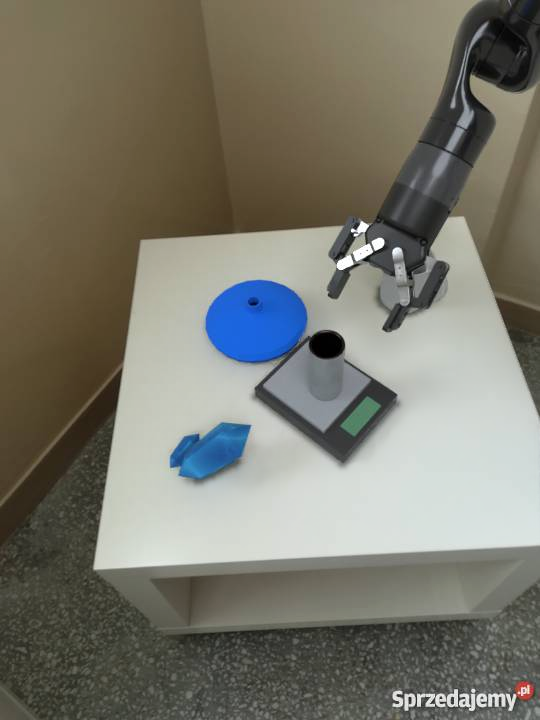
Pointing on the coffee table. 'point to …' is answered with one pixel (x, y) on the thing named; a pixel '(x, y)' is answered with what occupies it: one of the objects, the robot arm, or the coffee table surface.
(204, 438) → the crystal
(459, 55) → the robot arm
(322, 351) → the grey cylindrical tube
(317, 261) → the coffee table surface
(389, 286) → the cup
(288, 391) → the scale
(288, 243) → the coffee table surface
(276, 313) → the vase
